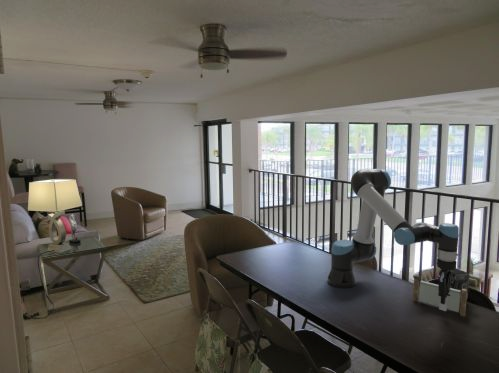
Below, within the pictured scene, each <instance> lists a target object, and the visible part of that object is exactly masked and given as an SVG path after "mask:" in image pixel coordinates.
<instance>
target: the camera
mask: <svg viewBox="0 0 499 373" xmlns="http://www.w3.org/2000/svg"><path fill="white" fill-rule="evenodd" d="M451 271H453V273H452V278H451V285H450V288H452V289H456V290H460V291H461V292H462V289H466V290H467V299H468V297H469V293H470V292H471V290H470V288H469V283H470V282H469V279H470V274H469V273H468V272H466V271H464V270H461V269H459V268H456V269H455V270H451ZM460 303H461V295H460Z"/></svg>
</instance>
